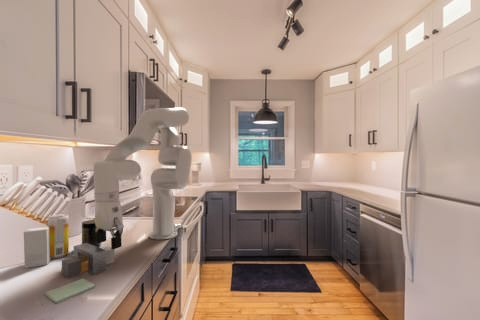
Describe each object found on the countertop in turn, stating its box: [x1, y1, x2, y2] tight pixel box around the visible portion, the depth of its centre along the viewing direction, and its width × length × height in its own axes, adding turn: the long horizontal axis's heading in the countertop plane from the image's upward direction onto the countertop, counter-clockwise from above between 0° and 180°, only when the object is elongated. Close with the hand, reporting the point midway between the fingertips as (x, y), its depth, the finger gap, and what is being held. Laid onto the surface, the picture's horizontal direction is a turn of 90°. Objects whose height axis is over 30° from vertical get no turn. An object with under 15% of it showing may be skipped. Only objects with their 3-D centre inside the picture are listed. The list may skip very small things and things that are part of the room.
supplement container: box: [81, 219, 102, 248], centre depth 96 cm, size 7×7×10 cm
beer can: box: [47, 212, 70, 260], centre depth 87 cm, size 6×6×15 cm
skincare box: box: [23, 226, 51, 269], centre depth 80 cm, size 6×4×12 cm
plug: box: [61, 245, 115, 279], centre depth 78 cm, size 14×4×5 cm, turn 147°
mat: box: [44, 278, 96, 304], centre depth 64 cm, size 9×7×1 cm
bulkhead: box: [73, 243, 107, 276], centre depth 78 cm, size 4×13×6 cm, turn 57°
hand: (108, 245), depth 83 cm, fingers open, 9 cm apart
